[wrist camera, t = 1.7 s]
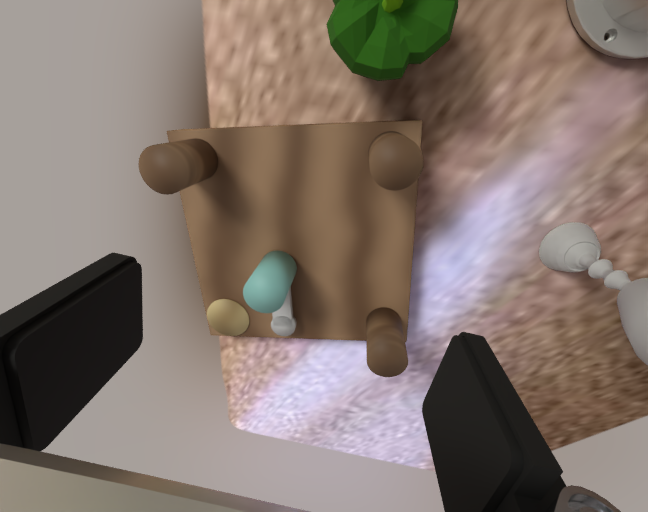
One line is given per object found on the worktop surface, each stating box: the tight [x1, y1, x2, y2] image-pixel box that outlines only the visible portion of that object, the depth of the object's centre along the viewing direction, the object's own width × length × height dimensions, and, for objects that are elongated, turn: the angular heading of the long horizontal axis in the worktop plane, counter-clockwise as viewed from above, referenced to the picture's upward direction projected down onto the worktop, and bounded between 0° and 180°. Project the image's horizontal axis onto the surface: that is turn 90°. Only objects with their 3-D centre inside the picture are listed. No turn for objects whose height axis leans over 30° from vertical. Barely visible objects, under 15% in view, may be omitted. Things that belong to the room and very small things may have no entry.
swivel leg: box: [243, 251, 297, 336], centre depth 32 cm, size 4×10×6 cm, turn 2°
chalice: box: [539, 222, 648, 365], centre depth 24 cm, size 7×7×18 cm
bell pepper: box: [327, 0, 458, 81], centre depth 22 cm, size 8×8×10 cm
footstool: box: [139, 120, 423, 377], centre depth 31 cm, size 22×22×8 cm
